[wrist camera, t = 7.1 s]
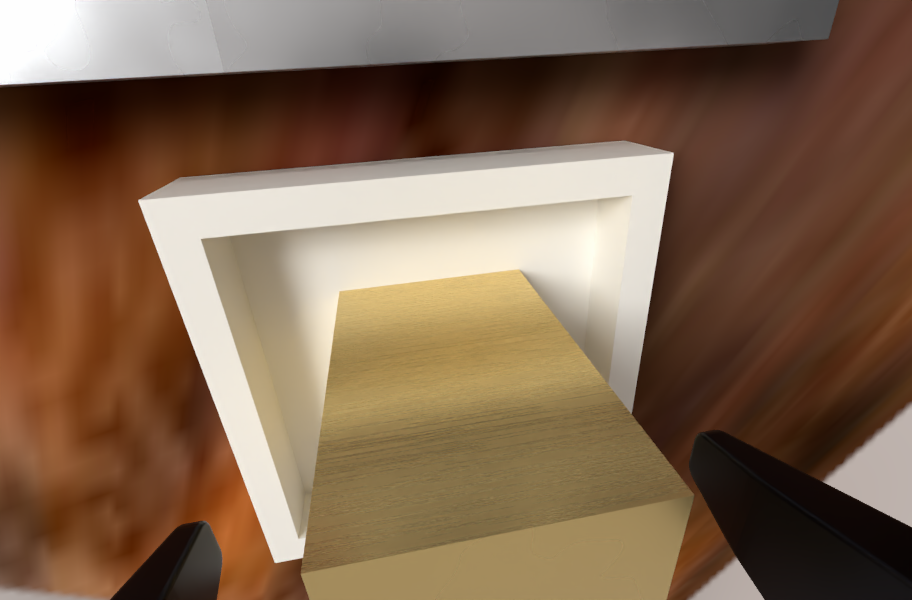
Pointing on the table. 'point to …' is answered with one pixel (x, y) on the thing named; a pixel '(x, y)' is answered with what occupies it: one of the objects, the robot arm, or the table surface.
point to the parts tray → (393, 275)
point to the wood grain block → (481, 457)
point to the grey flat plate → (365, 33)
